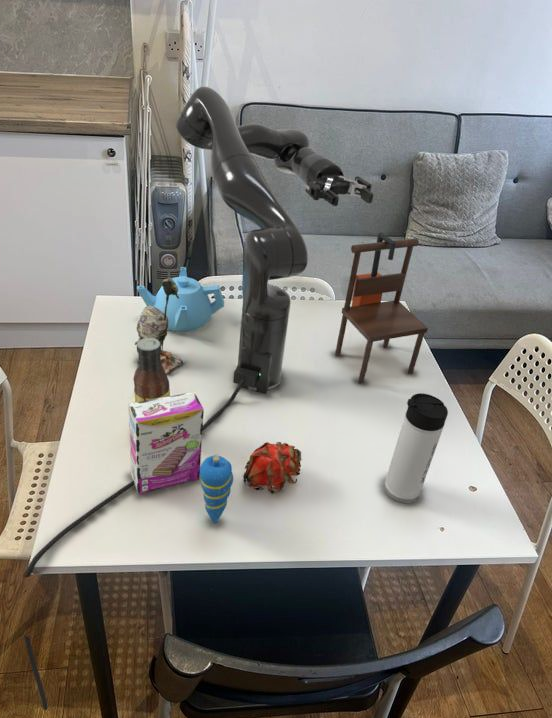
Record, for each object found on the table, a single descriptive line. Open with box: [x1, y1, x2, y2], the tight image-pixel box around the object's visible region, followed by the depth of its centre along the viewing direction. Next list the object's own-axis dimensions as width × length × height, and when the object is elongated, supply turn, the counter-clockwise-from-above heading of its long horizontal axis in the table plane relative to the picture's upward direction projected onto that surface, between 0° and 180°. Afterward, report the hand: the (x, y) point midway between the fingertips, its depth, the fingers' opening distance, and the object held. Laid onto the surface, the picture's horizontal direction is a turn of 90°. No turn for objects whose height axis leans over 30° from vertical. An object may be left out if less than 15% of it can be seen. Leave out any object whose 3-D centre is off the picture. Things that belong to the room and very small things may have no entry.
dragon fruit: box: [242, 441, 303, 495], centre depth 109 cm, size 8×8×12 cm
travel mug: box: [383, 392, 449, 504], centre depth 106 cm, size 6×7×20 cm
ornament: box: [199, 455, 234, 524], centre depth 99 cm, size 5×5×15 cm
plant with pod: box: [133, 277, 185, 374], centre depth 130 cm, size 8×11×20 cm
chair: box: [334, 237, 429, 385], centre depth 134 cm, size 12×15×27 cm
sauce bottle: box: [133, 338, 171, 403], centre depth 113 cm, size 7×6×20 cm
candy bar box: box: [128, 391, 205, 495], centre depth 105 cm, size 11×5×16 cm, turn 114°
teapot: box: [136, 266, 225, 333], centre depth 147 cm, size 15×15×11 cm
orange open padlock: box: [350, 232, 396, 307], centre depth 135 cm, size 8×6×19 cm
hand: (354, 200), depth 138 cm, fingers open, 8 cm apart
